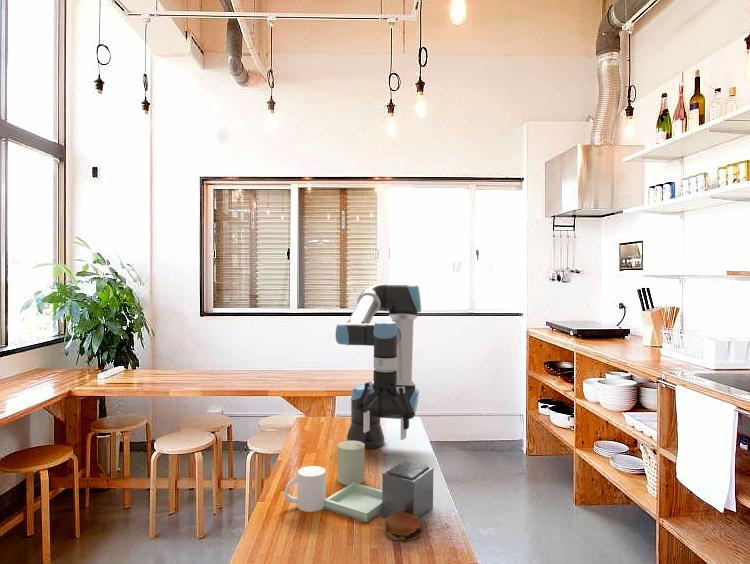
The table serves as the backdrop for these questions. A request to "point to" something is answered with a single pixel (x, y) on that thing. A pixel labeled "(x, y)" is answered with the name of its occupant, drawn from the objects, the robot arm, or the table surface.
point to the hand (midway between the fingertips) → (384, 435)
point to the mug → (309, 489)
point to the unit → (407, 489)
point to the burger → (402, 526)
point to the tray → (356, 502)
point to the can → (350, 462)
